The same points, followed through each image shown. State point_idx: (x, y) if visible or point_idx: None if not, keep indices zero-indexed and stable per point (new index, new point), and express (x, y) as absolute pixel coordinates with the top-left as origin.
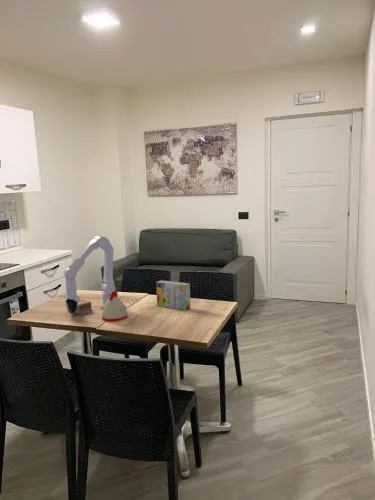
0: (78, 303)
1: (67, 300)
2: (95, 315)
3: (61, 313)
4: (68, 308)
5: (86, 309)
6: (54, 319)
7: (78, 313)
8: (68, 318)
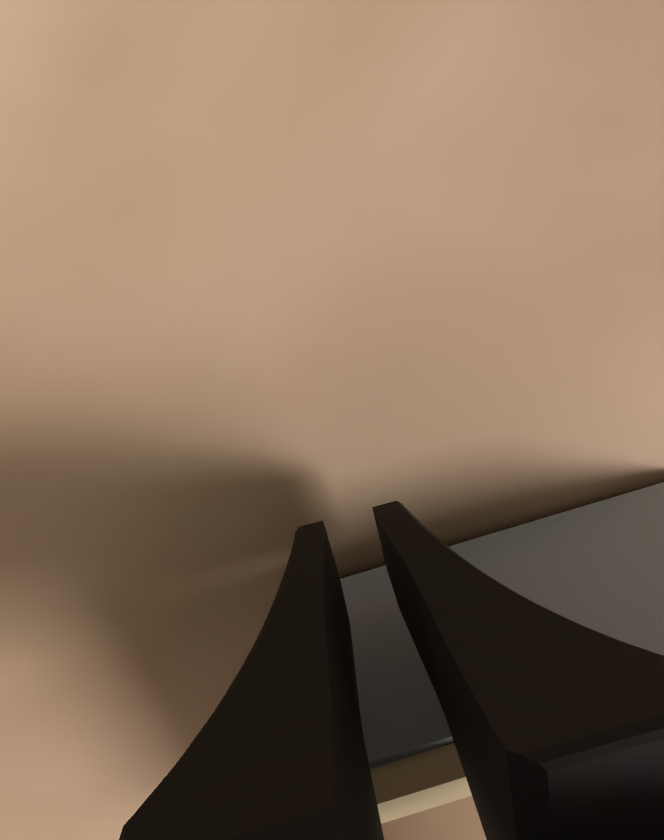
0: (472, 815)
1: (586, 808)
2: (39, 785)
3: (594, 331)
4: (657, 520)
5: None
6: (233, 5)
7: None
8: (110, 370)
